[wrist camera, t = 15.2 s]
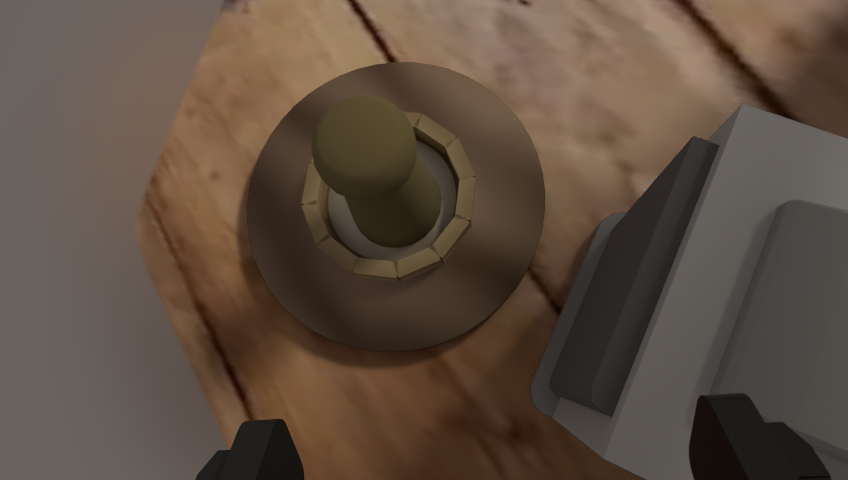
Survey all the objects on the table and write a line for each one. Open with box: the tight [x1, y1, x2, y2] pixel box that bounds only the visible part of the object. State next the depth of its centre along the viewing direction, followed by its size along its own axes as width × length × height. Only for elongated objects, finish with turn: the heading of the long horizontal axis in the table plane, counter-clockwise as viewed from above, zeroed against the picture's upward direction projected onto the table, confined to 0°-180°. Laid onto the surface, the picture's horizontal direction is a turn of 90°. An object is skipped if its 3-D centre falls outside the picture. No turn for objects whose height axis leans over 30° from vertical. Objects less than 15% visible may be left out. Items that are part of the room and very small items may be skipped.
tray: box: [247, 62, 545, 352], centre depth 36 cm, size 20×20×3 cm
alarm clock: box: [530, 103, 848, 480], centre depth 24 cm, size 18×13×18 cm
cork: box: [311, 96, 442, 248], centre depth 31 cm, size 6×6×11 cm
